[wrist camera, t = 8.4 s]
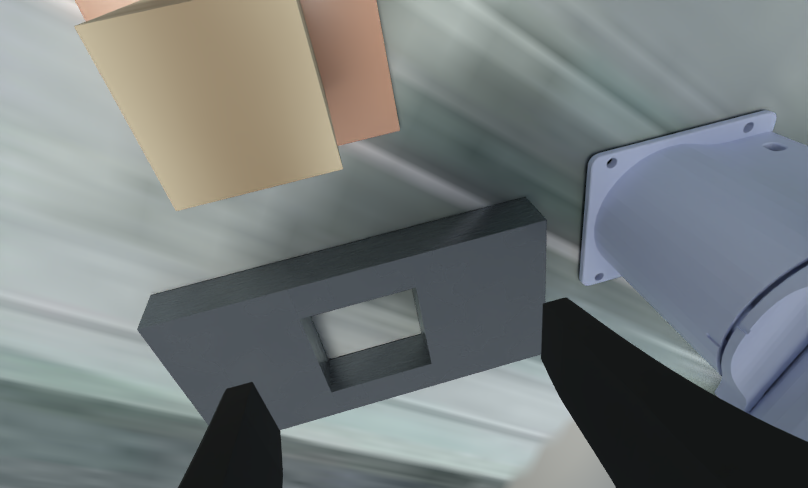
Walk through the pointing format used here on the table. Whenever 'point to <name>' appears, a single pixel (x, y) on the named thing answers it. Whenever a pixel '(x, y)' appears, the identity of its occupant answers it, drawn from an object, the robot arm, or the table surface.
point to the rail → (350, 284)
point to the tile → (335, 63)
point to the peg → (217, 93)
